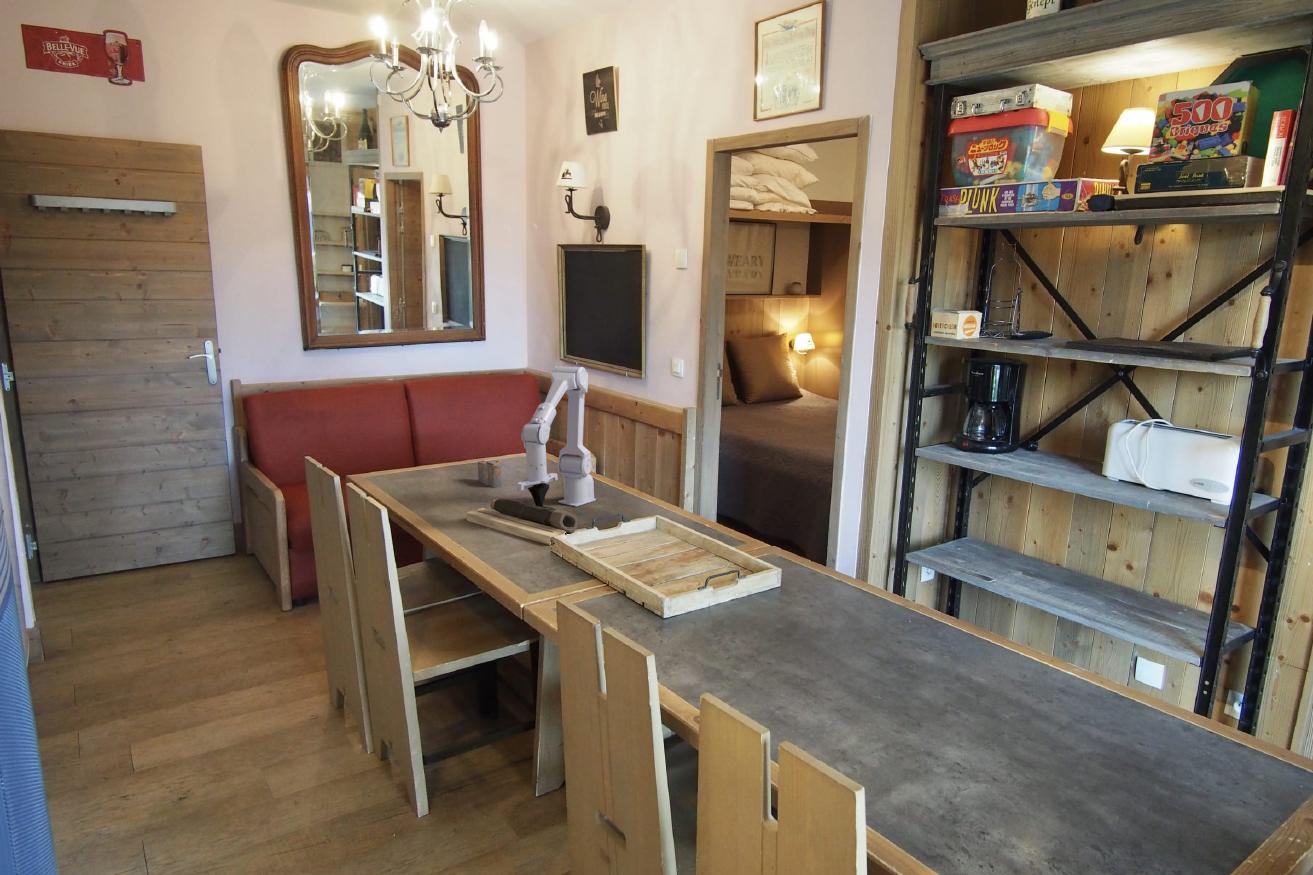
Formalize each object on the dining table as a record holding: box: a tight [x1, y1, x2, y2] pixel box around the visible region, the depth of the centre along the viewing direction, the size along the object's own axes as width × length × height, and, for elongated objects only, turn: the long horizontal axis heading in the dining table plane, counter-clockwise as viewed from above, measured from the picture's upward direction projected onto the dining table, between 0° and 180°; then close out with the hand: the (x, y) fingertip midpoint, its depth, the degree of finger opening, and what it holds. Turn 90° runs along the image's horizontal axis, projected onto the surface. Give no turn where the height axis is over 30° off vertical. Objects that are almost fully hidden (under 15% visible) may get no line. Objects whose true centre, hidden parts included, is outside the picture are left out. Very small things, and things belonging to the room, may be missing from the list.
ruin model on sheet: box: [477, 459, 502, 489], centre depth 283 cm, size 11×3×10 cm, turn 41°
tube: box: [490, 498, 579, 534], centre depth 237 cm, size 11×7×30 cm
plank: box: [465, 507, 567, 546], centre depth 233 cm, size 6×36×3 cm, turn 51°
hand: (538, 508), depth 240 cm, fingers closed, pressing on tube
